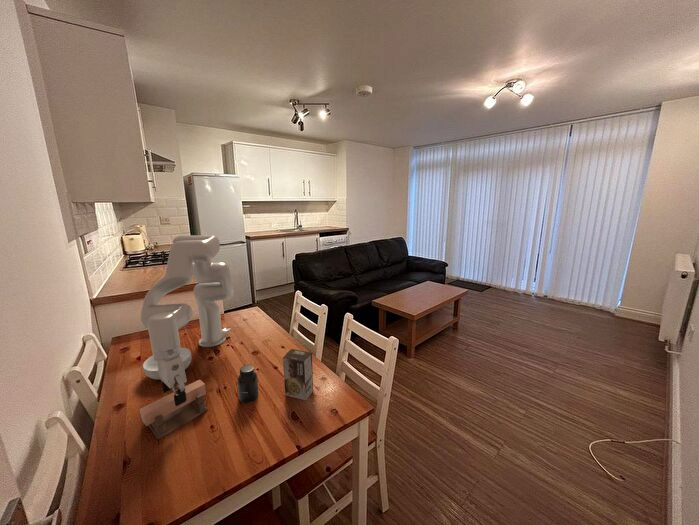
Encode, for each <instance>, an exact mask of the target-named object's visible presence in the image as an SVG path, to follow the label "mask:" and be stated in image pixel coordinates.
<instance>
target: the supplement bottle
mask: <svg viewBox="0 0 699 525" xmlns="http://www.w3.org/2000/svg"><path fill="white" fill-rule="evenodd" d="M258 379H259V378H258V374H257V373H256V371H255V367H254V366H253V365H252V364H246V365H243V366H241V367H240V369H239V375H238V377H237V389H238V392H237V393H238V400H239V401H240V402H242V403H245V404H249V403H252V402H254V401H256V399H257V398H258V396H259V382H258Z"/></svg>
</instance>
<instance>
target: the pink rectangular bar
mask: <svg viewBox="0 0 699 525" xmlns="http://www.w3.org/2000/svg"><path fill="white" fill-rule="evenodd" d="M188 384H189V385H188ZM188 384H186V385H187V386H186V385H185V392H186V399H187V401H186V402H184V403H182V404H180V405H178V406H176V405H175V401H174V395H175V394H174V391H173V392H171V393H169V394H167V395H165V396H163V397H161V398H159V399H157V400H155V401H154V402H152V403H151V402H150V403H151V404H149V403H148V404H149V405H147V404H146V405H147V406H145V405H144V406H143V407H141V408H139V412H140V418H141V420H142V422H143V424H144V425H145V427H147V426H148V425H149V424H151V423H153V422H155V417H157V416H159V415H161V414H162V416H163V417H164V416H166V415H168V414H170V413H172V412H173V411H175V410H177V409H179V408H181V407H183V406H184V405H186V404H188V403H190V402H192V401H194V400H196V396H197V395H199V394H200V393H202V394H203V396H205V395H207V389H206V384H205V383H204V382H203V381H202V380H201V379H198V380H195V381H194V382H192V383H188ZM148 427H149V426H148Z"/></svg>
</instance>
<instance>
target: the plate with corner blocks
mask: <svg viewBox="0 0 699 525" xmlns="http://www.w3.org/2000/svg"><path fill="white" fill-rule="evenodd" d="M189 384H190V383H188V384H186V385H185V386H187V385H189ZM151 403H153V402H149V403H148V404H145V405H144V407H145V406H147V405H149V404H151ZM207 411H209V409H208V407H207V406H206V402H205V398H204V395H203V394H202V393H200V394H199V395H197V396H196V400H194V401H192V402H190V403H188V404H186V405H184V406H183V407H181V408H179V409H177V410H175V411H173V412H172V413H170V414H168V415H166V416H164V417H163V416H162V414H161V415H159V416H157V417H155V422H153V423H151V424H149V425H148V428H149V429H150V431H151V432H152V433H153V435H154V436H155V437H156V439H157V440H160V439H162V438H163V437H165V436H166V435H168V434H170V433H172V432H173V431H175V430H176V429H179V428H180V427H182V426H183V425H186V423H187V424H188V423H189V422H190V421H192V420H193V419H195V418H197V417H198V416H200V415H202V414H204V413H206V412H207Z"/></svg>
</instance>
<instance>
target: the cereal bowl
mask: <svg viewBox="0 0 699 525" xmlns="http://www.w3.org/2000/svg"><path fill="white" fill-rule="evenodd" d="M181 351H182V352H181V354H180V355H181V358H182V361H183V365H184V369H185V370H186V369H188V367H189V366H190V365H191V362H192V352H191V350H190V349H189V348H187V347H181ZM142 370H143V372H144V374H145V375H146V376H147V377H148V378H150V379H152V380H161V378H160V376H159V372H158V366H157V361H155V360H154V359H153V355H151V356H150V357H148V358H147V359H146V360H145V361H144V362H143V363H142Z"/></svg>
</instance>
